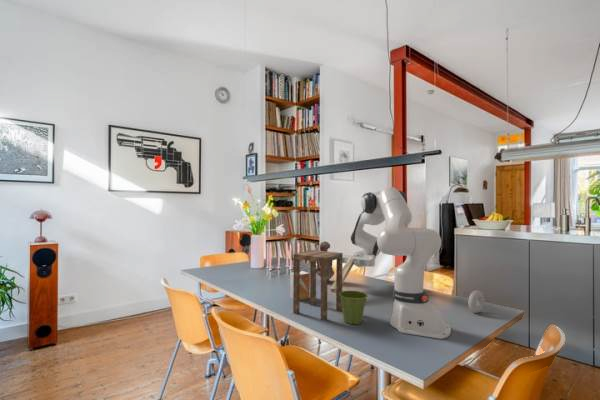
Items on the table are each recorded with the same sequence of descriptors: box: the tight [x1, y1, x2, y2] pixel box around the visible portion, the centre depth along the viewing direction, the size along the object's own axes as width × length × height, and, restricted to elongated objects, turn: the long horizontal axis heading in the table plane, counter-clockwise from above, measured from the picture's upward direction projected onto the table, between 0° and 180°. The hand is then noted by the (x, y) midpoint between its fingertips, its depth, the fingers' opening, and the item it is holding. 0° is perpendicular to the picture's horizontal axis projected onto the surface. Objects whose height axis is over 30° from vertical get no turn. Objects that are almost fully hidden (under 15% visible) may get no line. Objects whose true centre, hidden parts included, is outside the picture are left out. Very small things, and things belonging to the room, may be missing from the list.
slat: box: [330, 258, 355, 294], centre depth 165 cm, size 3×24×2 cm, turn 146°
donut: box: [467, 290, 485, 314], centre depth 145 cm, size 10×4×10 cm, turn 124°
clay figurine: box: [316, 241, 335, 283], centre depth 198 cm, size 13×10×25 cm
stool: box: [292, 249, 344, 322], centre depth 144 cm, size 16×16×26 cm
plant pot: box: [339, 290, 369, 325], centre depth 133 cm, size 12×12×11 cm
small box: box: [289, 270, 310, 301], centre depth 164 cm, size 8×6×13 cm
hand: (349, 262), depth 172 cm, fingers closed on slat, 3 cm apart
